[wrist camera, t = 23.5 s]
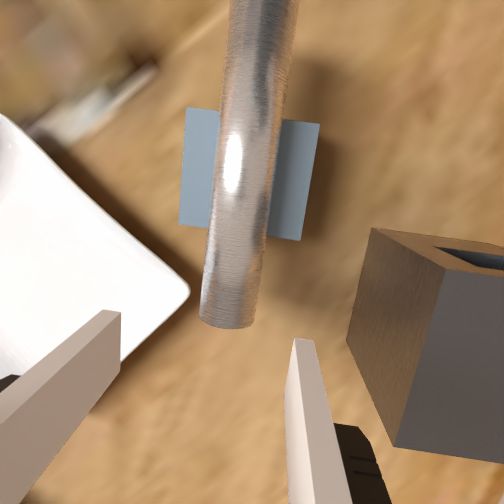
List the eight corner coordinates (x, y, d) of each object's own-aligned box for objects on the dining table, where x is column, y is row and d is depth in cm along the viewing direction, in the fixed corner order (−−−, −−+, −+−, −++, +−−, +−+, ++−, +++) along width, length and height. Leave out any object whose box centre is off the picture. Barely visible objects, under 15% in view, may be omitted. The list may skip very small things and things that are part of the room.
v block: (202, 119, 26) (186, 106, 21) (311, 133, 26) (320, 123, 21) (194, 215, 28) (178, 224, 23) (295, 228, 28) (300, 240, 23)
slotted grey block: (371, 227, 27) (446, 268, 16) (488, 243, 27) (652, 297, 15) (346, 340, 30) (393, 446, 18) (451, 355, 30) (567, 473, 18)
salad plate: (-90, 276, 32) (-132, 289, 28) (23, 111, 27) (-12, 103, 24) (76, 407, 34) (55, 432, 31) (204, 277, 30) (196, 290, 26)
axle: (235, 13, 20) (227, -27, 16) (296, 21, 20) (302, -19, 16) (205, 302, 25) (192, 324, 21) (255, 309, 24) (253, 332, 21)
